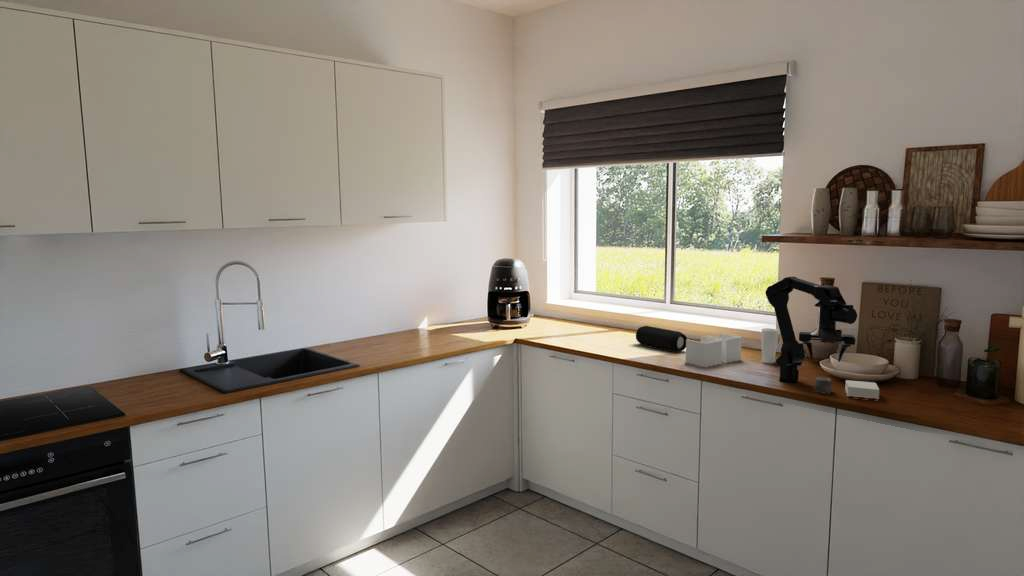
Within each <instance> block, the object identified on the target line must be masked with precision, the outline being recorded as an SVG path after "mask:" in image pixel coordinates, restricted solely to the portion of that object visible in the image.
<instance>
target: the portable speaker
mask: <svg viewBox="0 0 1024 576" xmlns="http://www.w3.org/2000/svg"><path fill="white" fill-rule="evenodd" d="M635 339H636V341H637V343H639V344H640V345H642V346H645V345H646V346H645V347H649V346H650V348H654V347H656V348H655V349H659V348H660V350H663V349H665V350H664V351H668V350H669V351H668V352H673V351H674V352H673V353H679V352H683V351H685V350H686V339H688V338H687V336H686V335H685V334H684V333H682V332H681V331H678V330H671V329H667V328H661V327H654V326H650V325H644V326H640V327H638V328H637V330H636V332H635Z"/></svg>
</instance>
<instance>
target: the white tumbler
mask: <svg viewBox="0 0 1024 576" xmlns="http://www.w3.org/2000/svg"><path fill="white" fill-rule="evenodd" d="M760 335H761V336H760V337H761V340H760V341H761V362H762V363H764V364H767V365H768V364H772V365H773V364H774V363H776V354H777V353H776V351H777V346H778V345H777V344H778V337H779V330H778V329H776V328H768V327H767V328H762V329H761V334H760Z"/></svg>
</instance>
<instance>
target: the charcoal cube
mask: <svg viewBox="0 0 1024 576" xmlns="http://www.w3.org/2000/svg"><path fill="white" fill-rule="evenodd" d="M814 382H815V384H814V385H815V386H814V390H816V392H825V393H830V394H831V389H832V379H831V377H821V376H815V381H814ZM816 392H815V393H816Z"/></svg>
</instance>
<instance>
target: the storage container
mask: <svg viewBox="0 0 1024 576" xmlns="http://www.w3.org/2000/svg"><path fill="white" fill-rule="evenodd" d="M719 336H720V337H715V336H712V335H706V336H700V341H698V340H691V339H689V338H687V339H686V348H685V364H688V363H690V365H692V364H695V365H694V366H697V365H698V366H697V367H701V366H702V367H701V368H705V367H706V368H709V367H708V366H711V367H714V366H713V365H715V366H718V365H717V364H720V365H722V362H724V363H723V364H729V363H733V361H734V362H738V360H739V361H741V360H742V343H743V336H740V335H733V334H728V333H724V332H721V333H720V334H719ZM728 362H729V363H728Z"/></svg>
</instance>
